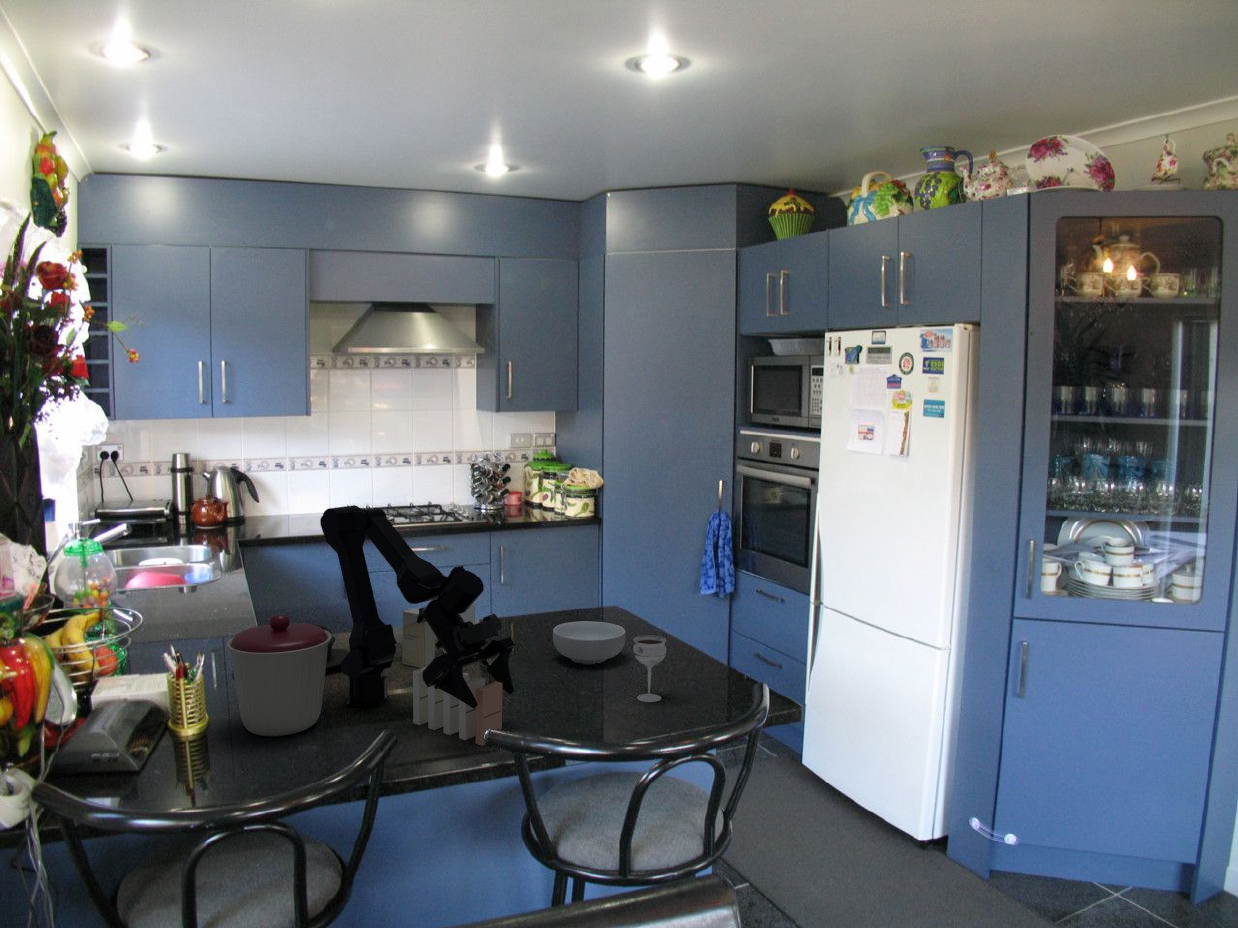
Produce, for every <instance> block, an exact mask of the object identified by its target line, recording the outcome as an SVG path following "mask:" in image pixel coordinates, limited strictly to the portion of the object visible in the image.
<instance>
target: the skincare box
mask: <svg viewBox="0 0 1238 928" xmlns="http://www.w3.org/2000/svg"><path fill="white" fill-rule="evenodd" d="M419 609H420V608H418V607H411V608H409V609H405V610H403V611H402V638H401V639H402V640H401V643H402V644H401V646H402V647H401V648H402V651H401V652H402V653H401V659H402V660H401V664H403V665H406V666H409V667H410V666H411V667H414V668H415V667H416V668H418V669H421V668H424V667H427V666H428V665H429V664H430V663H431V662H432V660H433V659H434V658H435V656H436V655H435V653H436V650H435V648H436V645H435V644H436V636H435V634H434V632H433V631H432V629H431V628H430V626H429V624H428V623H427V622H423V623H420V624H418V623H417V617H418V615H419Z"/></svg>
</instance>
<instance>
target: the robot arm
mask: <svg viewBox="0 0 1238 928" xmlns="http://www.w3.org/2000/svg"><path fill="white" fill-rule="evenodd" d="M319 523H320V527H321V530H322V533H323V536H324V540H325V542H326V543H327V544H328V545H329V546H330V548H331V549H332V550H333V551H334V552H336V553H337V558H338V563H339V566H340V571H341V576H342V579H343V584H344V589H345V593H346V596H347V597H346V598H347V602H348V606H349V611H350V615H351V619H352V628H351V632H350V634H349V637H348V644H349V645H348V646H349V653H348V654H347V655H346V657H345V658H344V659H343V660H342V662H341V663H340V666H339V667H340V669H341V674H342V675H345V676H348V678H349V679H348V681H349V682H348V686H349V688H348V690H349V692H348V695H349V696H348V697H349V699H348V701H347V702H346V706H347V707H380V706H381V705H382V704H383V702H384V701H385V700H386V698H388V695H389V694H388V676H386V675H385V670H387V669H390V668H392V666H393V661H394V657H395V654H397V653H396V652H397V647H396V646H397V642H398V641H397V640H396V637H395V635H394V628H393V626H392V624H391V623H388V624H385V622H384V621H382V619H381V618H380V616H379V612H378V608H377V603H376V598H375V593H374V590H373V586H372V583H371V582H372V581H371V577H370V573H369V568H368V565H367V561H366V556H365V552H364V544H365V541H366V538H368V539H369V540H370V541H371V542H372V544H373V545H374V546H375V548H376V549H377V550H378V552H379V553H380V555H382V557H383V558H384V559H385V561H387V563H388V565H389V566H390V568H392V570H393V571H394V573H395V575H396V585H397V588H398V589H399V591H400V593H401V594H402V596H403V599H405V601H406V602H408V603H409V604H411V605H412V604H413V605H417V604H422V603H426V602H428V603H427V605H426V606H424V607H420V608H419V615H418V617H417V623H418V624H420V623H423V622H427V623H428V624H429V626H430V628H431V629H432V631H433V632H434V634H435V638H436V639H437V641H436V642H435V648H437V650H440V649H442V650H443V649H444V650H445V652H446V654H445V653H444V654H443V655H439V656H436V657H435V658H434V659H433V660H432V662H431V663H430V664H429V665H428V666H427V667H426V669H425V670H424V671H423V680H424V682H425V684H426V685H427V687H431V686H434V685H435V686H434V688H435V689H440V690H442V691H444V692H446V693H448V694H450V695H452V696H454V697H456V698H457V699H459V700H460V701H462V702H464V703H465V704H467V705H469V706H470V707H472V708H476V707H477V705H478V704H477V702H476V699H475V697H474V695H473V694H472V692H471V690H470V688H469V687H468V685H467V683H466V681H465V680H464V678H463V673H464V672H463V671H464V670H463V668H465V667H468V666H471V665H475V664H478V663H480V662H481V663H482V665H484V666H486V667H487V668H486V669H485V670H486V672H487V673H488V674H489V675H490V676H491V677H492V678H493V679H494V681H496V682H500V683H502V690H504V691H505V692H506V693H507V694H508V695H512V694H513V693H514V692H515V690H514V686H513V680H512V676H511V671H510V666H509V660H510V656H511V655H512V654H513V650H514V648H515V647H516V644H515V643H514V641H513V639H512V638H511V636H507V635H504V636H499V631H501V630H502V629H503V624H502V621H501V620H500V618H499V617H498V616H497V615H496V613H491V614H489V615H487V616H484V617H483V619H482V621H481V622H478V623H475V624H473V623H472V622H470V621H468V622H465V621H464V620H463V618H462V617H461V615H460V613H464V612H466V611H467V610H468V608H469V607H470V606H471V605H472V604H473V603H474V604H475V602H476V600H477V599H478V598H479V597H480V595H482V593H483V592H484V590H485V588H484V587H485V586H484V582H483V580H482V579H481V577H480V576H477V574H476V573H474V572H472V571H469V570H467V569H465V567H464V566H463V565H457V566H455V567H453V568H452V569H451V570H450V573H449V574H448V575H447V576H446V575H445V574H443V573H442V572H441V570H440V569H439V568H437V567H436V566H435V565H434V564H433V563H432V562H431V561H428V560H426V559H424V558H421V557H419V556H418V554H416V553H415V551H414V550H413V549H412V547H410V545H409V544H408V543H407V542H406V541H405V539H404V538H403V537H402V535H401V534H400V533H399V532H398V530H397V529H396V528H395V526H394V525H393V524H392V523H391V521H390V520H389V519H388V518H387V513H386V511H385V510H384V509H383V508H378V507H375V508H367V509H362V508H361V507H359V506H358V505H355V504H353V505H347V506H338V507H329V508H327V509H325V510H324V511H323V513H322V516H321V517H320V522H319ZM498 636H499V637H498ZM493 637H494V639H492V640H491V641H489V643H488V642H487V640H488V639H490V638H493ZM495 637H496V638H495ZM487 643H488V644H487ZM486 644H487V645H486ZM485 645H486V646H485ZM484 646H485V647H484ZM482 647H484V649H483V648H482Z"/></svg>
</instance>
